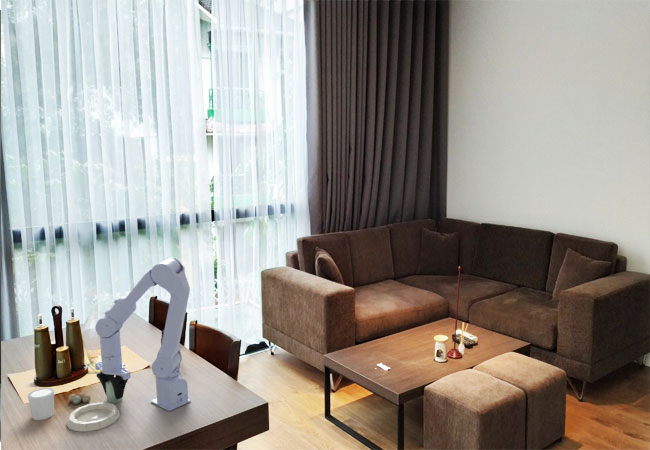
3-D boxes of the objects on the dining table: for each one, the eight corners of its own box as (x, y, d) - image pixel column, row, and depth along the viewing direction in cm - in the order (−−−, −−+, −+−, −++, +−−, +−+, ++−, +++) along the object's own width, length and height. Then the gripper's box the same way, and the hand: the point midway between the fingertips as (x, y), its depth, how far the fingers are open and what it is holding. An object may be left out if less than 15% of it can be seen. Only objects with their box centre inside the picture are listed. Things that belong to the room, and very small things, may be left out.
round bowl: (129, 417, 161) (128, 410, 161) (82, 437, 150) (82, 430, 150) (103, 403, 170) (103, 396, 170) (58, 421, 159) (57, 414, 159)
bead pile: (92, 401, 171) (91, 394, 170) (76, 408, 167) (76, 400, 167) (82, 396, 174) (81, 389, 174) (66, 402, 171) (66, 394, 170)
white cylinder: (49, 407, 168) (47, 385, 166) (60, 414, 163) (58, 391, 162) (25, 416, 162) (23, 393, 161) (36, 423, 158) (34, 400, 157)
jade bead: (125, 399, 172) (123, 381, 171) (111, 405, 168) (110, 386, 168) (117, 395, 175) (116, 377, 174) (104, 401, 171) (102, 382, 170)
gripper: (137, 354, 168) (140, 396, 171) (108, 345, 176) (111, 385, 179) (117, 362, 163) (120, 406, 165) (87, 352, 171) (91, 394, 173)
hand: (114, 396), depth 171 cm, fingers closed on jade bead, 4 cm apart
